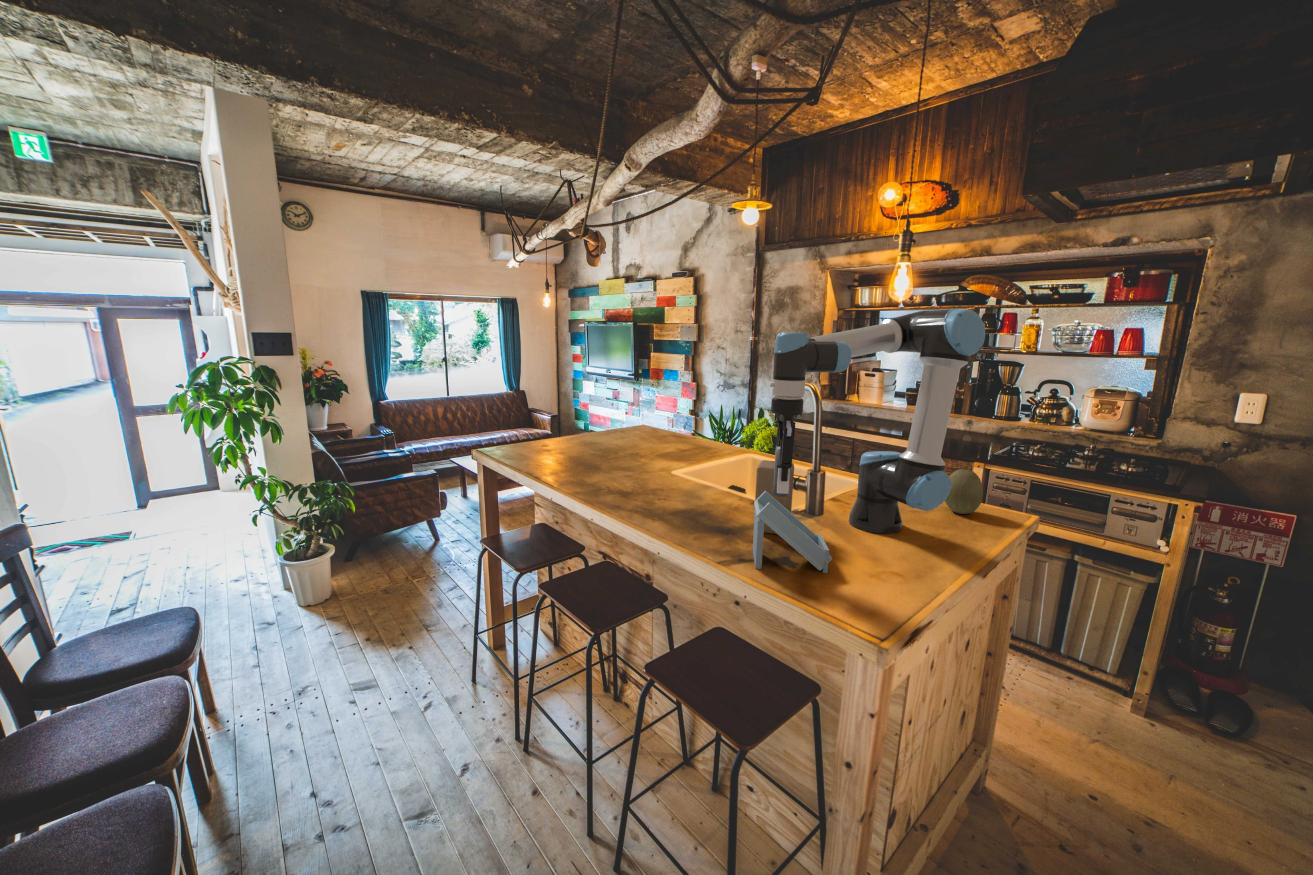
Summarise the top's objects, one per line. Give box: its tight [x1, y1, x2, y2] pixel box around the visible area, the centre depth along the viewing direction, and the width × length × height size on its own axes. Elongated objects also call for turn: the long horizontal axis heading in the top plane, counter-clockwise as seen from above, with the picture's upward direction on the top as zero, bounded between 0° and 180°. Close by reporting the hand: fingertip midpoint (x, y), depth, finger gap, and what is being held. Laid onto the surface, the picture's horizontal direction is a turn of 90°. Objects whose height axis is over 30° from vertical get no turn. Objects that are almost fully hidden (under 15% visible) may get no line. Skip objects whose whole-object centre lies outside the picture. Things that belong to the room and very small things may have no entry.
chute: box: [752, 491, 834, 574], centre depth 130 cm, size 19×10×17 cm, turn 83°
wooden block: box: [753, 459, 795, 535], centre depth 152 cm, size 10×10×20 cm
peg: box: [773, 446, 791, 497], centre depth 127 cm, size 4×4×12 cm
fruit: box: [944, 468, 984, 515], centre depth 169 cm, size 11×11×15 cm
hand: (781, 490), depth 128 cm, fingers closed on peg, 4 cm apart
